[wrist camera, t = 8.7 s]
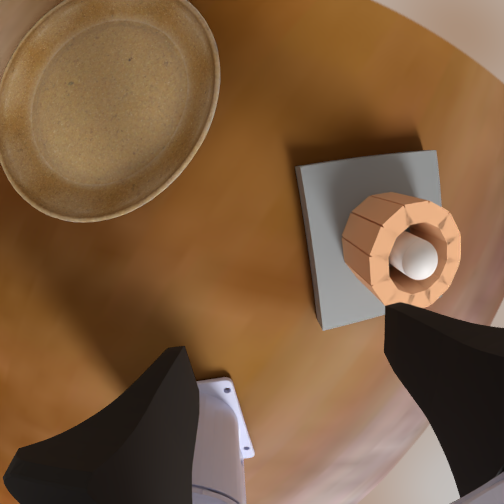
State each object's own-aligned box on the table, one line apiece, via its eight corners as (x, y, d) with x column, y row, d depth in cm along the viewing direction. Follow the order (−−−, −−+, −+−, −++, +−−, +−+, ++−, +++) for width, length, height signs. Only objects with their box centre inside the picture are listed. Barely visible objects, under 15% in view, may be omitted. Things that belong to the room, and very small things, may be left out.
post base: (430, 289, 21) (483, 328, 15) (317, 319, 21) (347, 378, 15) (423, 150, 18) (489, 151, 12) (294, 166, 18) (327, 168, 12)
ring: (423, 272, 19) (458, 295, 15) (347, 292, 19) (372, 323, 15) (419, 187, 17) (459, 195, 13) (336, 201, 17) (364, 211, 13)
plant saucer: (1, 197, 17) (-21, 202, 15) (48, 4, 14) (31, -9, 11) (192, 235, 19) (186, 246, 17) (247, 9, 15) (249, -10, 13)
